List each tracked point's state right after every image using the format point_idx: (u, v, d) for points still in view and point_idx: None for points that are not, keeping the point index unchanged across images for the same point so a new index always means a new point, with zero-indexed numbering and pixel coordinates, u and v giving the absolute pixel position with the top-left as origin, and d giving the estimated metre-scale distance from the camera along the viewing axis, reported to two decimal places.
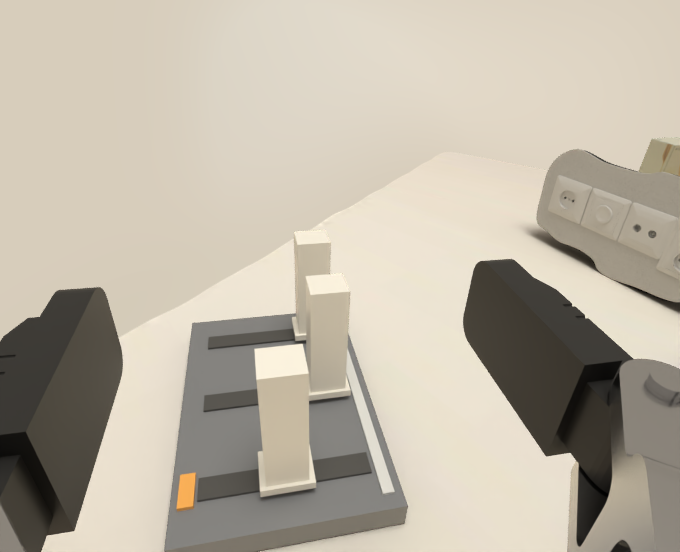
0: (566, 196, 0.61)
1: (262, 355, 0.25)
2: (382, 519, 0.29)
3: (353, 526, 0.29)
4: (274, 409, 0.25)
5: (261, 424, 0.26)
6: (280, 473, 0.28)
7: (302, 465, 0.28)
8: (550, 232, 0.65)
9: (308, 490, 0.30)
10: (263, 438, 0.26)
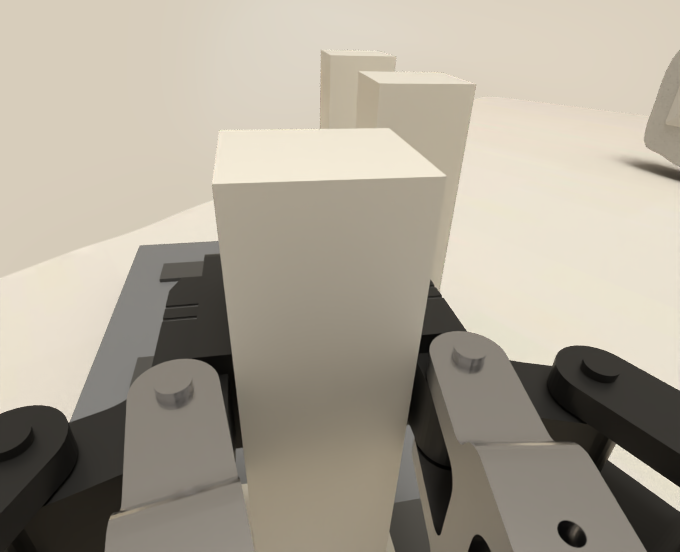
0: None
1: (247, 139, 0.07)
2: None
3: None
4: (294, 345, 0.06)
5: (242, 405, 0.07)
6: None
7: (369, 535, 0.09)
8: (667, 156, 0.46)
9: None
10: (250, 457, 0.07)
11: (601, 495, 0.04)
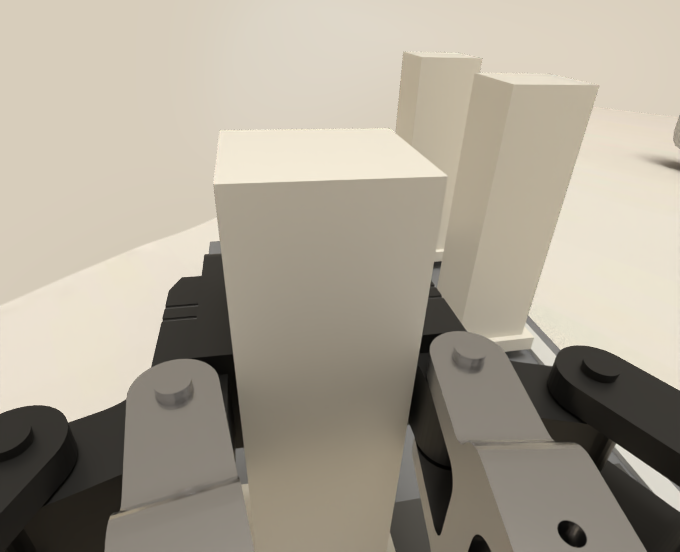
0: None
1: (248, 140, 0.07)
2: None
3: None
4: (295, 346, 0.06)
5: (243, 406, 0.07)
6: None
7: (369, 534, 0.09)
8: None
9: None
10: (251, 457, 0.07)
11: (601, 495, 0.04)
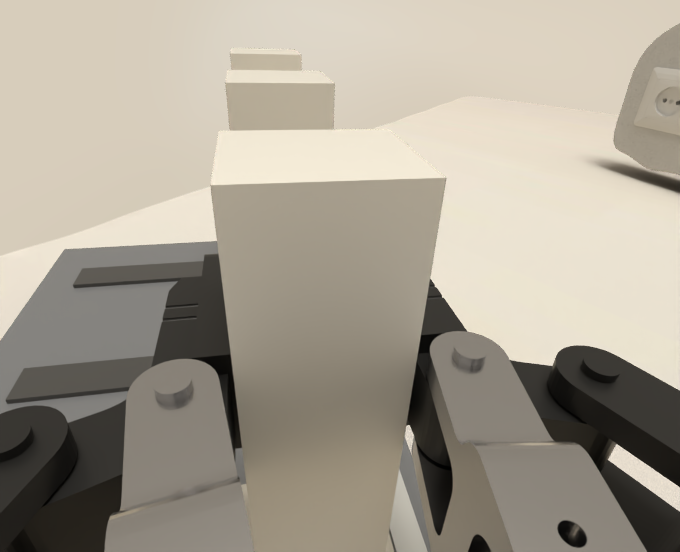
0: (667, 97, 0.42)
1: (246, 140, 0.07)
2: None
3: None
4: (293, 347, 0.06)
5: (241, 406, 0.07)
6: None
7: (368, 536, 0.09)
8: (636, 157, 0.45)
9: None
10: (249, 457, 0.07)
11: (601, 495, 0.04)
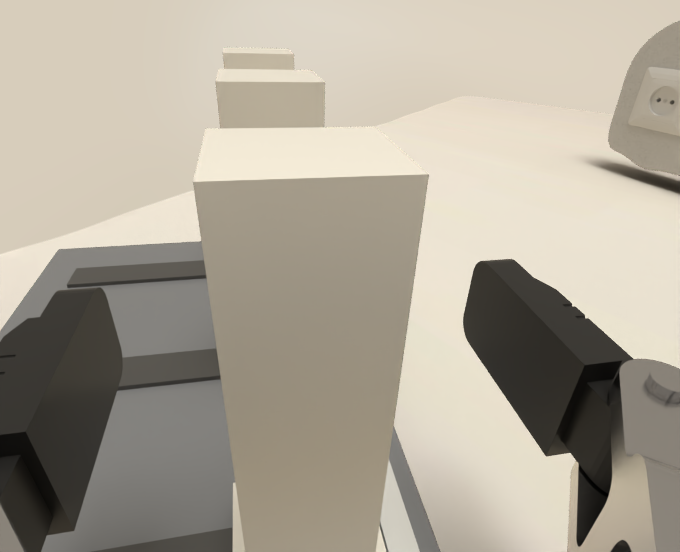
0: (660, 97, 0.42)
1: (232, 138, 0.07)
2: None
3: None
4: (278, 343, 0.06)
5: (228, 403, 0.07)
6: None
7: (358, 532, 0.09)
8: (630, 156, 0.46)
9: None
10: (237, 454, 0.07)
11: None
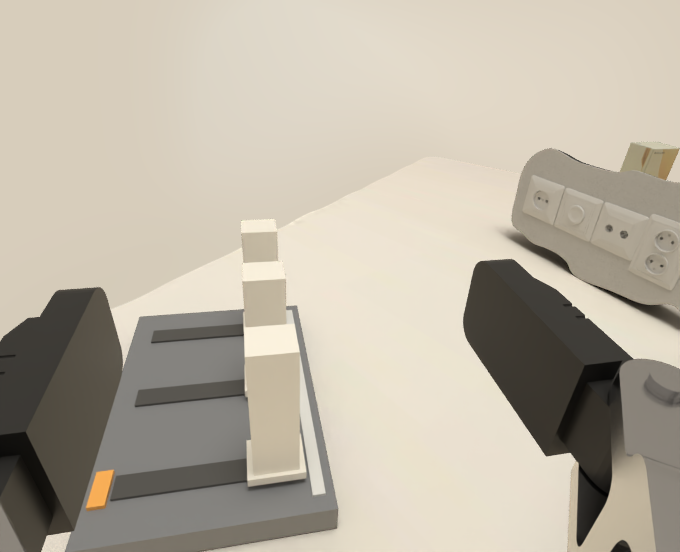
0: (540, 196, 0.60)
1: (252, 334, 0.24)
2: (311, 523, 0.27)
3: (279, 530, 0.27)
4: (263, 390, 0.24)
5: (249, 406, 0.24)
6: (269, 461, 0.27)
7: (292, 453, 0.27)
8: (525, 234, 0.64)
9: (233, 490, 0.28)
10: (251, 422, 0.25)
11: None
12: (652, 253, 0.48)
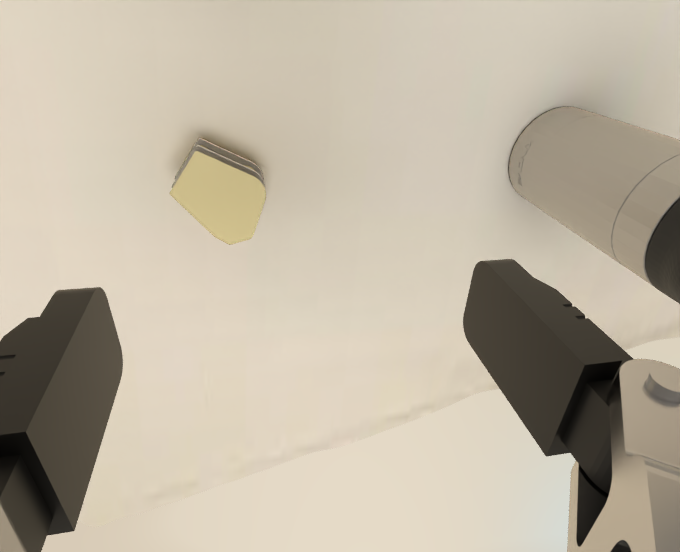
0: None
1: None
2: None
3: None
4: None
5: None
6: None
7: None
8: None
9: None
10: None
11: None
12: None
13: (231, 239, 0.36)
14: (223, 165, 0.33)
